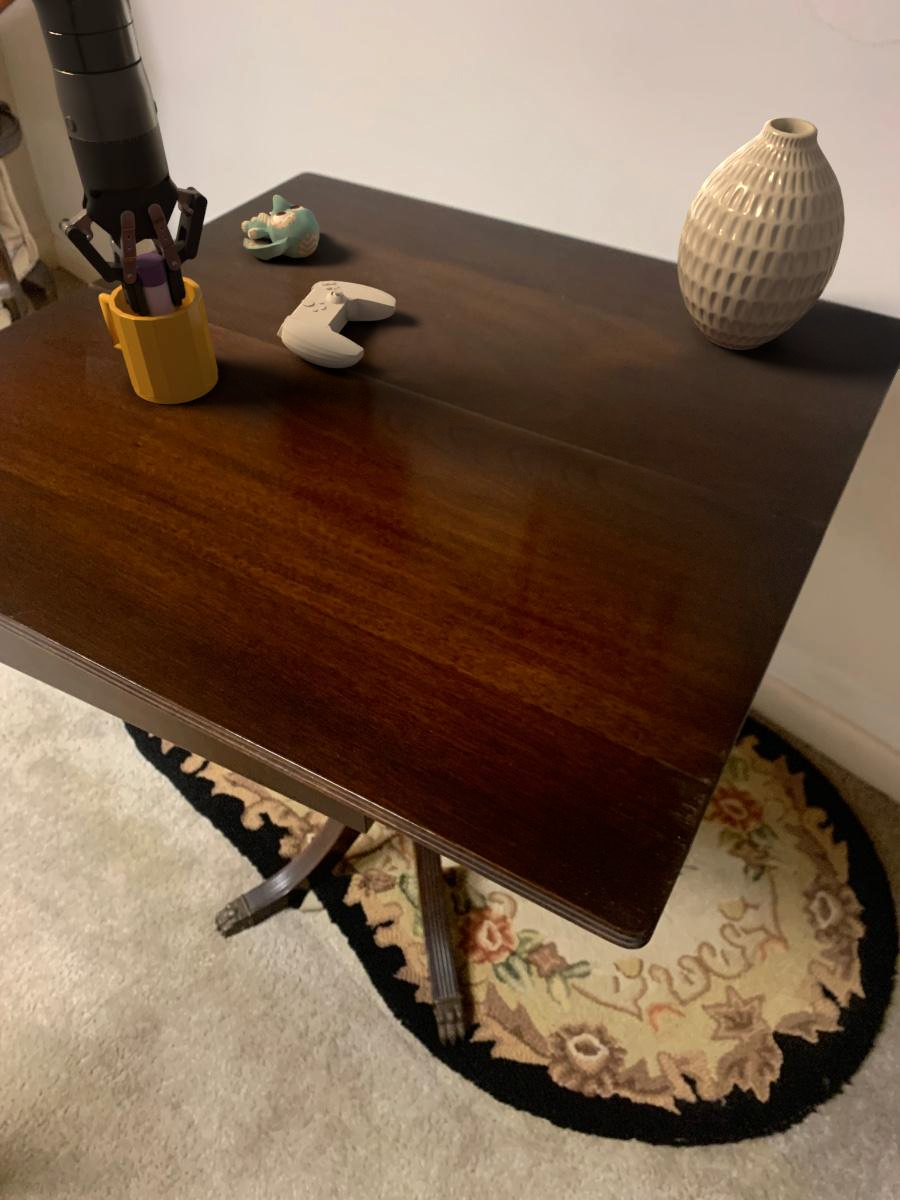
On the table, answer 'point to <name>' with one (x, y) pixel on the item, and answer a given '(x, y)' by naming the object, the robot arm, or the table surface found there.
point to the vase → (761, 237)
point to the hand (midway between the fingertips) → (158, 307)
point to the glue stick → (154, 284)
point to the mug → (164, 347)
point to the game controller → (333, 322)
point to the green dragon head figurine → (282, 231)
